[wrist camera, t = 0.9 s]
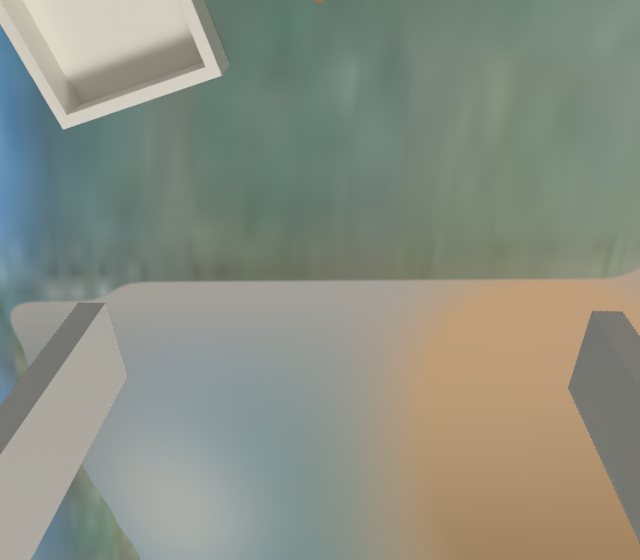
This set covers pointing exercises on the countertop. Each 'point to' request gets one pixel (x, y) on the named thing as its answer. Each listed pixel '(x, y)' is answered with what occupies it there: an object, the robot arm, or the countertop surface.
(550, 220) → the countertop surface
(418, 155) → the countertop surface
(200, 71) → the cream tray
